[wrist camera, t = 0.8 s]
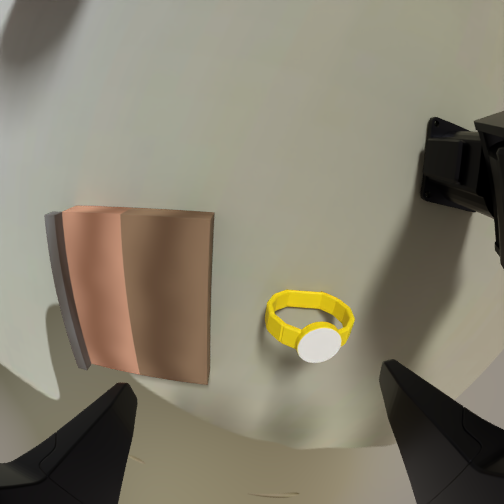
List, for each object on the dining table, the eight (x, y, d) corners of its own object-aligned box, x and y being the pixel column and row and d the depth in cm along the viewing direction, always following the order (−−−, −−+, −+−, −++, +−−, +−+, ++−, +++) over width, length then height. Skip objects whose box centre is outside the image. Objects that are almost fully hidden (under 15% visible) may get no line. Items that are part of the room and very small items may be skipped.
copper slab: (214, 212, 19) (207, 224, 16) (209, 369, 24) (205, 393, 21) (66, 205, 19) (44, 214, 16) (91, 348, 24) (78, 367, 21)
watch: (341, 283, 22) (373, 326, 16) (333, 313, 22) (359, 361, 17) (264, 279, 21) (276, 327, 15) (260, 311, 22) (269, 364, 16)
